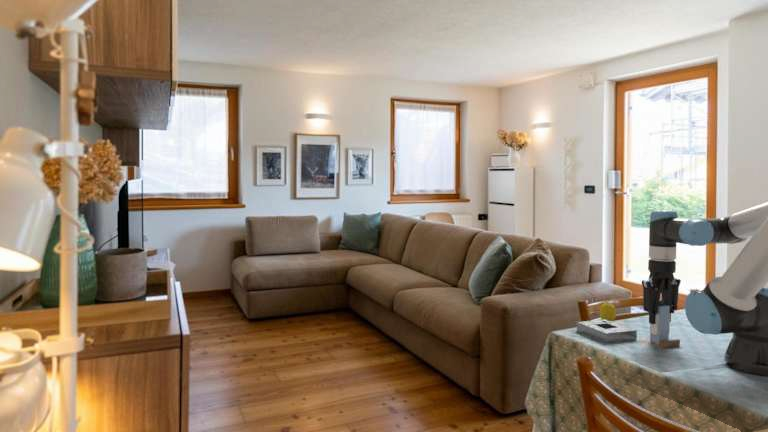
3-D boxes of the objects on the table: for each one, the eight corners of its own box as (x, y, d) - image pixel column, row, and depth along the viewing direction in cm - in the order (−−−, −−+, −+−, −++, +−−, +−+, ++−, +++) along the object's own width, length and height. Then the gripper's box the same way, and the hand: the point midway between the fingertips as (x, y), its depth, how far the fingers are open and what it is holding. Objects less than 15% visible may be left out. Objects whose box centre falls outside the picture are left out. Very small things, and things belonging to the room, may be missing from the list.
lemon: (612, 321, 191) (613, 300, 190) (617, 325, 185) (618, 304, 185) (597, 321, 191) (597, 300, 191) (602, 325, 186) (602, 303, 185)
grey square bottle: (668, 343, 161) (669, 301, 161) (659, 344, 160) (660, 301, 159) (658, 340, 165) (660, 298, 164) (650, 341, 164) (651, 299, 163)
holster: (679, 349, 160) (679, 339, 159) (661, 351, 157) (662, 341, 157) (656, 340, 168) (656, 331, 168) (638, 342, 166) (639, 333, 166)
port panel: (636, 342, 166) (636, 329, 166) (606, 345, 163) (606, 332, 162) (605, 330, 180) (605, 318, 179) (576, 333, 176) (576, 320, 176)
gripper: (672, 256, 167) (670, 327, 169) (631, 258, 162) (629, 332, 163) (693, 259, 160) (690, 334, 161) (650, 262, 155) (647, 339, 156)
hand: (659, 333), depth 162 cm, fingers closed on grey square bottle, 4 cm apart
